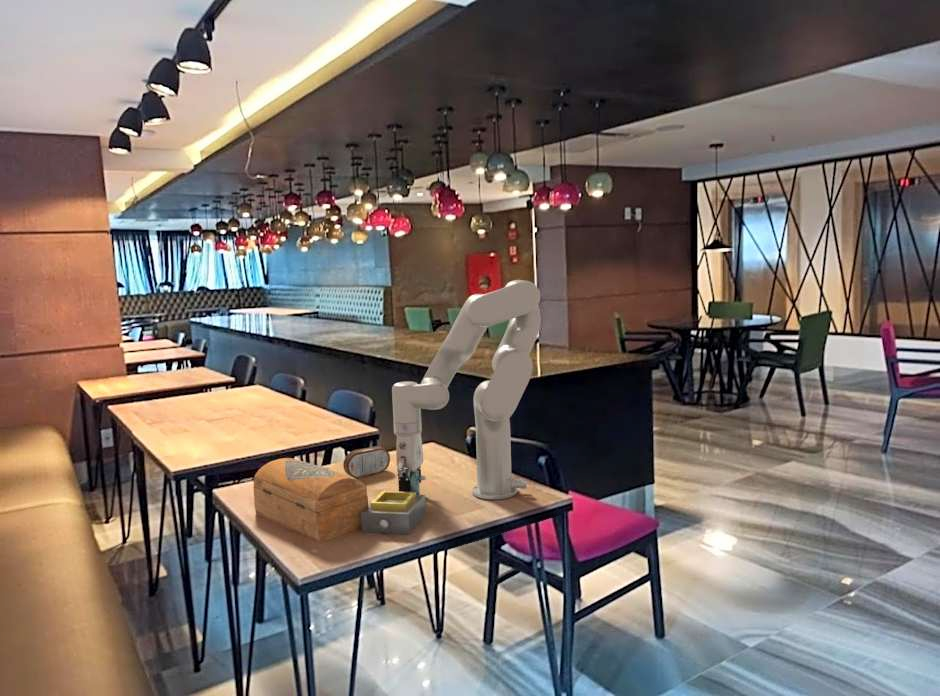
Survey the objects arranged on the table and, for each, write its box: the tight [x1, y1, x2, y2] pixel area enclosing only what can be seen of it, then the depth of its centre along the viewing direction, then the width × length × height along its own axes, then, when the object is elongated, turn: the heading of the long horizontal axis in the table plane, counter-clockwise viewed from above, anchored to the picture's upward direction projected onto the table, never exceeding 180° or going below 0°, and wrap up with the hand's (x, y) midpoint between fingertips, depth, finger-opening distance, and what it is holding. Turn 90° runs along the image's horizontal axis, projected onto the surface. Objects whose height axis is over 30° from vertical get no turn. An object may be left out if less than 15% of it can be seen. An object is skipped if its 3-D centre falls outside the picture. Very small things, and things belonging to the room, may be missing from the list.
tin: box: [343, 445, 391, 479], centre depth 212 cm, size 15×3×8 cm, turn 125°
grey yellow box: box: [361, 490, 426, 535], centre depth 171 cm, size 12×16×6 cm
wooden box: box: [253, 457, 369, 544], centre depth 176 cm, size 30×16×14 cm, turn 45°
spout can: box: [405, 469, 426, 495], centre depth 188 cm, size 7×5×8 cm
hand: (410, 488), depth 189 cm, fingers open, 9 cm apart
